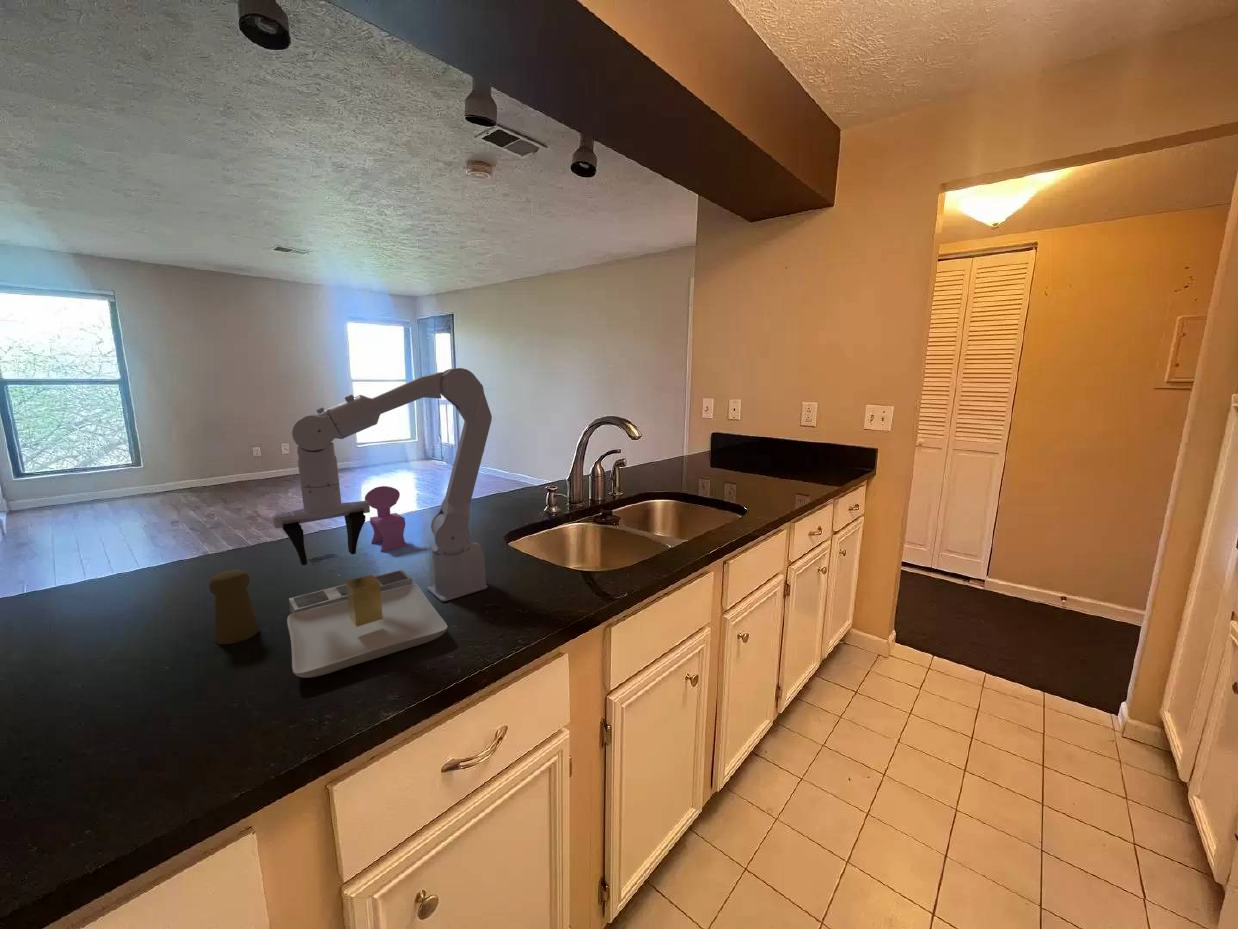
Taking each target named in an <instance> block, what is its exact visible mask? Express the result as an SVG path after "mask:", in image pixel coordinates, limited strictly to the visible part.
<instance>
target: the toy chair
mask: <svg viewBox="0 0 1238 929" xmlns="http://www.w3.org/2000/svg"><path fill="white" fill-rule="evenodd" d="M400 493H401V492H400V491H399V490H398V489H396V488H394V487H392V486H387V485H382V486H377V487H374V488H372V489H371V490H369V491H368V492H367V493H366V494H365V496H364V501H367V502H369V506H370V507H371V508H372V509H375V510H376V513H377V516H372V517H371V516H370V517H369V524H370V526H371V527H372V529H373V537H372V539H371V542H370V544H371V543H374V544H377V543H376V542H379V543H381V542H380V541H383V542H382V547H381V549H380V553H384V552H387V550H388V551H392V550H396V549H397V550H398V549H401V547H402V548H406V547H408V545H407V543H406V541H405V536H404V533H405V532H404V531H405V527H406V520H405V519H406V518H405V517H404V516H401V515H400V514H399V513H396V512H395V513H394V512H392V513H391V508H392V507H393V506H396V504H397V503H398V502H399V499H400ZM405 546H406V547H405Z"/></svg>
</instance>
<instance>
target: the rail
mask: <svg viewBox="0 0 1238 929" xmlns="http://www.w3.org/2000/svg"><path fill="white" fill-rule="evenodd" d="M374 577H375V578H376V579H377V580H378V581H379V583H380V592H382V591H386V590H390V589H394V588H398V587H403V586H407V585H411V584H413V578H412V577H411V576H410V575H409V574H408V573H407V572H405V571H404V570H403V569H400V570H396V571H392V572H388V573H383V574H379V575H376V576H374ZM345 600H348V598H347V589H346V583H344V584H341V585H338V586H333V587H329V588H324V589H321V590H317V591H313V592H309V593H305V594H301V595H297V596H294V597H290V598H288V603H289V610H290V614H294V613H297V612H301V611H305V610H309V609H313V608H317V607H321V606H325V605H329V604H333V603H337V602H341V601H345Z"/></svg>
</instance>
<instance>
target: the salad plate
mask: <svg viewBox="0 0 1238 929" xmlns="http://www.w3.org/2000/svg"><path fill="white" fill-rule="evenodd" d="M380 594H381V605H382V615H383V619H381V620H377V621H374V622H371V623H368V624H365V625H362V626H358V627H356V626H355V625H354V623H353V622H352V621H351V619H350V617H349V608H348V600H345V601H341V602H337V603H333V604H329V605H325V606H321V607H317V608H313V609H309V610H305V611H301V612H297V613H294V614H292V613H290V614H289V615H288V616H287V618H286V625H287V628H288V633H289V637H290V647H291V648H290V649H291V668H292V672H293V674H294V675H295V676H296V677H298V678H299V677H300V678H316V677H320V676H324V675H327V674H331V673H333V672H338V671H341V670H343V669H347V668H348V667H349V668H350V667H352V666H356V665H359V664H362V663H366V662H369V661H371V660H375V659H378V658H381V657H384V656H385V657H386V656H387V655H392V654H394V653H398V652H400V651H405V650H407V649H410V648H413V647H416V646H420V645H423V644H427V643H429V642H431V641H434V640H436V639H438V638H439V637H441V636H442V635H444V634H445V633H446V632H447V630H448V628H449V626H448V624H447V623H446V621H445V620H444V619H443V617H442V616H441V615H440V614H439V613H438V611H437V610H436V608H435V607H434V606H433V605H432V603H431V602H430V600H429V598H428V597H427V596H426V595H425V593H424V592H423V590H422V588H421V587H420V585H418V584H417V583H412V584H411V585H407V586H403V587H398V588H394V589H390V590H386V591H382V592H380Z"/></svg>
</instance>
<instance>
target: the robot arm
mask: <svg viewBox="0 0 1238 929" xmlns="http://www.w3.org/2000/svg"><path fill="white" fill-rule="evenodd" d="M442 397H443V398H444V399H445V400H446V401H448V402H449V403H451V404H452V405H453V406H454V407H455V409H456V410H457V412H458V414H460V416H461V418H463V420H464V421H463V426H462V431H461V434H460V438H459V442H458V445H457V449H456V454H455V457H454V461H453V466H452V469H451V474H450V476H449V477H450V478H449V480H448V485H447V489H446V493H445V497H444V499H443V500H442V502H441V504H440V508H439V511H438V512H437V513H436V514H435V515H434V517H433V518H432V521H431V525H430V529H431V532H432V534H433V536H434V544H433V545H432V546H431V556H432V559H431V560H432V569H433V570H432V571H433V573H432V574H433V584H432V585H430V586H429V585H428V586H427V587H426V589H427V591H429V592H430V593H431V594H432V595H433V596H435V597H436V599H438V600H439V601H440V602H443V603H444V602H448V601H450V600H454V599H456V598H461V597H463V596H466V595H469V594H473V593H476V592H480V591H483V590H486V589H487V588H488V585H487V581H486V567H485V555H484V552H483V549H482V547H481V545H480V544H479V543H477V542H470V539H471V534H470V530H469V522H470V517H471V512H470V510H471V502H472V498H473V494H474V490H475V486H476V482H477V479H478V474H479V470H480V468H481V462H482V460H483V455H484V451H485V447H486V444H487V439H488V435H489V433H490V428H491V425H492V424H491V423H492V421H493V420H492V416H493V415H492V412H491V410H490V406H489V403H488V400H487V398H486V395H485V391H484V385H483V384H482V383H481V381H480V380H479V379H478V378H477V376H476V375H475V374H474V373H473V372H471V371H470V370H469V369H467V368H463V367H457V368H449V369H446V370H444V371H440V372H439V371H438V372H436V373H432V374H431V373H430V374H427V375H423V376H419V377H417V378H415V379H413V380H411V381H408V382H406V383H404V384H401V385H399V386H397V387H395V388H393V389H390V390H388V391H386V392H383V393H381V394H379V395H377V396H375V397H373V398H371V397H368V396H366V395H362V394H358V395H356V396H354V395H353V394H350V395H347V396H345V397H344V399H345V400H344V401H342V402H339V403H336V404H334V405H332V406H329V407H326V408H324V407H323V406H322V407H319V408H317V409H316V413H317V414H309V415H306V416H304V417H302V418H301V419H299V420H298V421H297V422H296V423H295V424H294V425H293V428H292V431H291V435H292V440H293V441H294V442H295V444H296V445H297V446H296V448H297V449H296V452H297V455H298V459H297V465H298V472H299V479H300V480H299V482H300V488H301V497H302V505H303V508H300V509H296V510H291V511H288V512H282V513H279V514H278V513H277V514H273V515H272V521H273V527H274V529H280V528H281V529H282V530H283V531H284V532H285V534H286V535H287V536H288V538H289V540H290V541H291V543H292V545H293V546H294V548H295V550H296V553H297V555H298V559H299V561H300V562H299V563H300V564H301V566H306V565H308V558H307V555H306V549H305V548H306V547H305V540H304V539H305V538H304V530H303V528H302V525H301V524H304V523H309V522H310V523H311V522H316V521H322V520H327V519H334V518H339V517H344V521H345V525H346V533H347V549H348V552H349V553H350V554H351V555H356V554H357V546H358V545H357V544H358V541H359V536H360V534H361V531H362V530H363V529H362V528H363V526H364V524H365V522H366V515H365V514H368V513H370V512H371V509H370V507H371V506H369V502H367V501H365V500H361V501H360V500H359V501H352V502H349V501H348V502H342V496H341V488H340V479H339V471H338V470H339V469H338V468H339V467H338V461H337V460H338V459H337V456H336V455H335V454H336V453H335V446H334V442H333V441H334V440H335V439H336V440H337V439H338V440H344V439H345V438H347V437H350V436H352V435H355V434H357V433H360V432H362V431H364V430H367V429H369V428H371V427H374V426H376V425H377V424H378V422H379V419H380V416H381V415H382V414H384V413H387V412H389V411H393V410H395V409H397V408H400V407H402V406H405V405H407V404H410V403H412V402H415V401H417V400H420V399H423V398H428V399H442Z"/></svg>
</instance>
